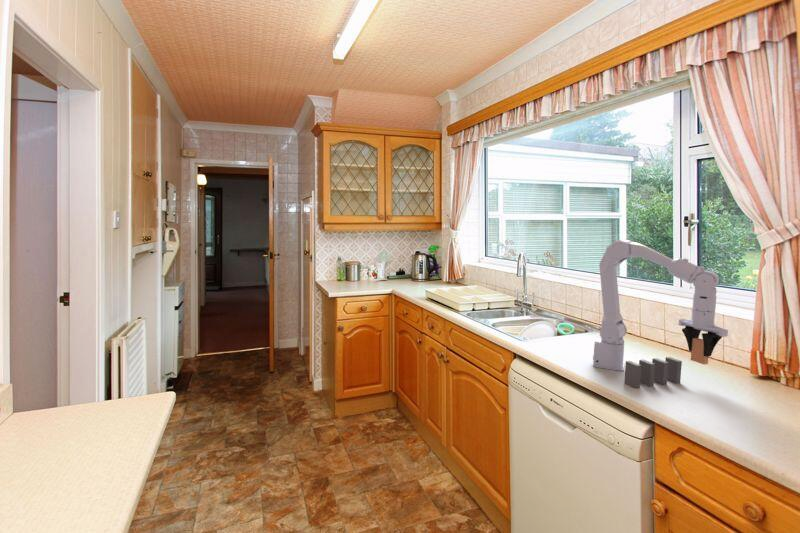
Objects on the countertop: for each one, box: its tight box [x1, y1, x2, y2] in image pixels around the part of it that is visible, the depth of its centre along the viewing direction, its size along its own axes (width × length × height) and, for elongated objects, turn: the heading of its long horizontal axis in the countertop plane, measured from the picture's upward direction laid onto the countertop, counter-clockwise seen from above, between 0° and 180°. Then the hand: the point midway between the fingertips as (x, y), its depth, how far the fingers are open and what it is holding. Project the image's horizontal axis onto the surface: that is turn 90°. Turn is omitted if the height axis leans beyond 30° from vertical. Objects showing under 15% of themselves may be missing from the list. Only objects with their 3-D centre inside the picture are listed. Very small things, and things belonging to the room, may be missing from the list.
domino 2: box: [638, 359, 655, 387], centre depth 135 cm, size 2×4×7 cm, turn 16°
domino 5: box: [690, 338, 710, 365], centre depth 134 cm, size 2×4×7 cm, turn 15°
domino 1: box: [623, 360, 641, 389], centre depth 134 cm, size 2×4×7 cm, turn 16°
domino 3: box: [651, 357, 668, 386], centre depth 137 cm, size 2×4×7 cm, turn 16°
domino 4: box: [664, 356, 683, 384], centre depth 138 cm, size 2×4×7 cm, turn 16°
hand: (699, 353), depth 135 cm, fingers closed on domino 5, 4 cm apart
